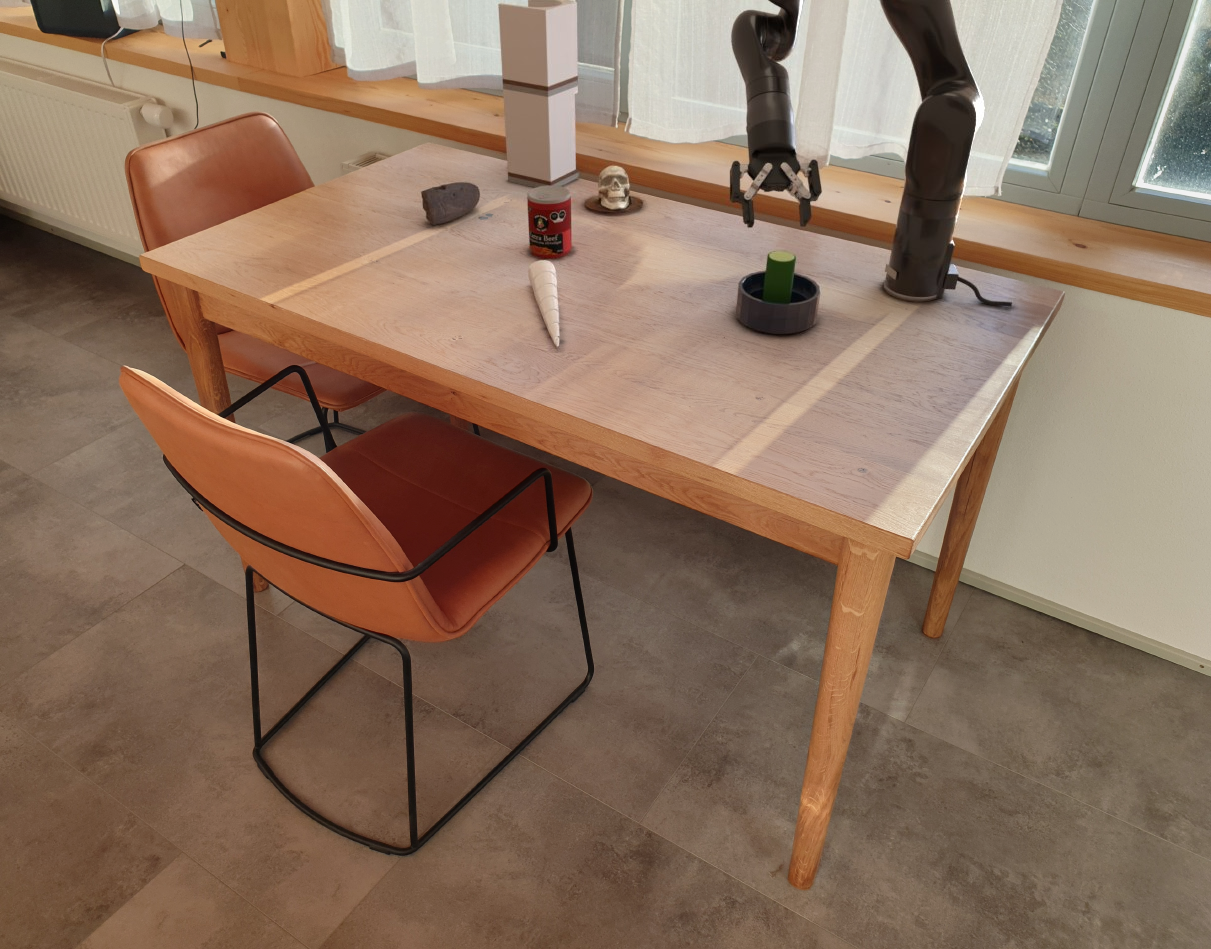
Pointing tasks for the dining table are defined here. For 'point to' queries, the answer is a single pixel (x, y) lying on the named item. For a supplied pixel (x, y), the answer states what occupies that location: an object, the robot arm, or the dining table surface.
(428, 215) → the perforated stone tool
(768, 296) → the cucumber
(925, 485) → the dining table surface
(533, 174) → the striped white pillar
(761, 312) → the bowl
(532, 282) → the unicorn horn
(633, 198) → the skull
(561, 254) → the canned food
